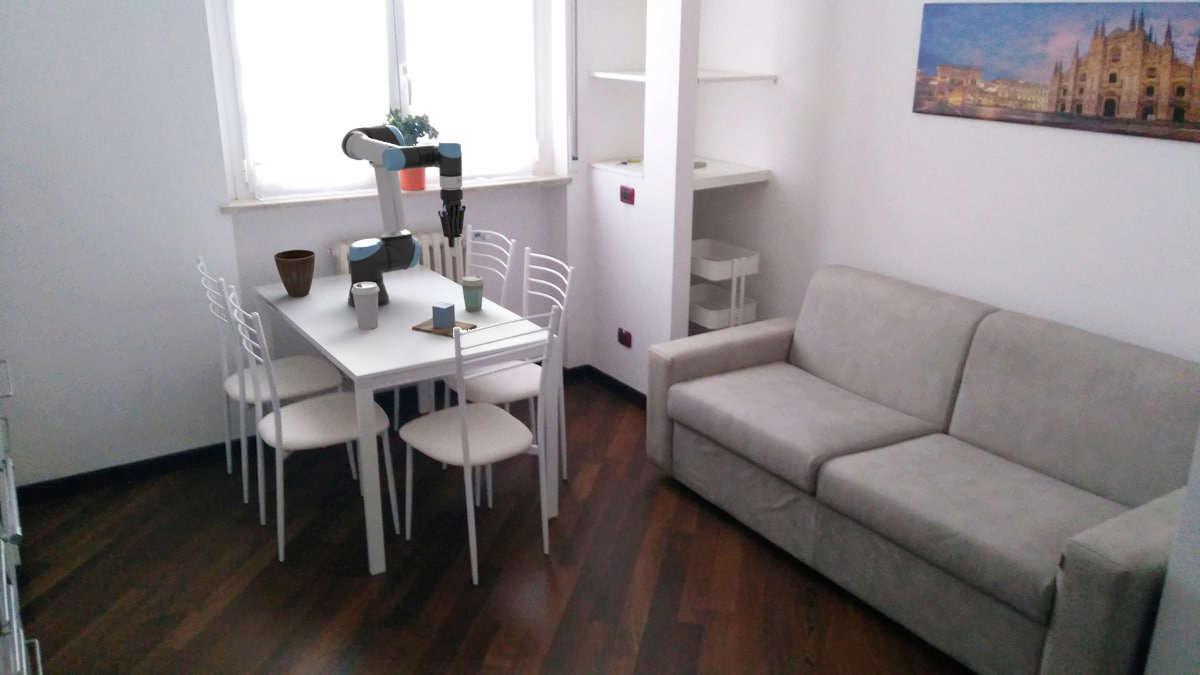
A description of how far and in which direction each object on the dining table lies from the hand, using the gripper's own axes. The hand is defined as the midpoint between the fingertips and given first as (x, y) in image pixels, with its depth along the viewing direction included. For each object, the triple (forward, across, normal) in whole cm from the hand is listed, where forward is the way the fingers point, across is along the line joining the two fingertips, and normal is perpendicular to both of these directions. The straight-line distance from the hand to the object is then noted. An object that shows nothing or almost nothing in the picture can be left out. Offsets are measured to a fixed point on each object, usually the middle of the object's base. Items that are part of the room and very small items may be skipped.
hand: (453, 255), depth 318 cm
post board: (+24, -7, 0) cm, 25 cm away
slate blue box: (+24, -7, 0) cm, 25 cm away
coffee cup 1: (+25, -19, +24) cm, 39 cm away
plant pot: (+25, -3, +73) cm, 77 cm away
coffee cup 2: (+25, +16, +4) cm, 30 cm away
